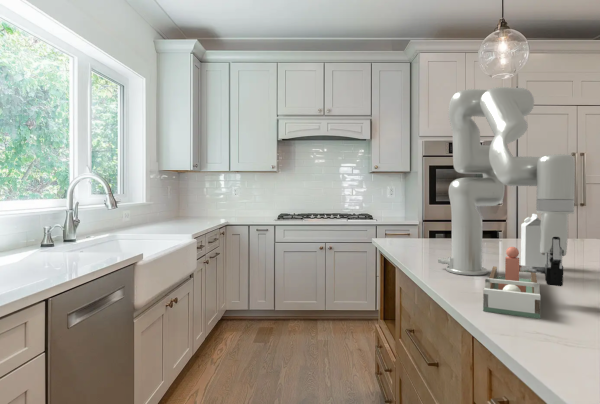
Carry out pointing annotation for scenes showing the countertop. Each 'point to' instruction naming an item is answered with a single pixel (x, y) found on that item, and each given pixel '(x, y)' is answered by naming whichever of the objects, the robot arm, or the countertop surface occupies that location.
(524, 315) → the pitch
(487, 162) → the robot arm
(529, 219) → the milk carton
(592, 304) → the countertop surface
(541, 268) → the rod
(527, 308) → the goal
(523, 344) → the countertop surface
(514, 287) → the egg
